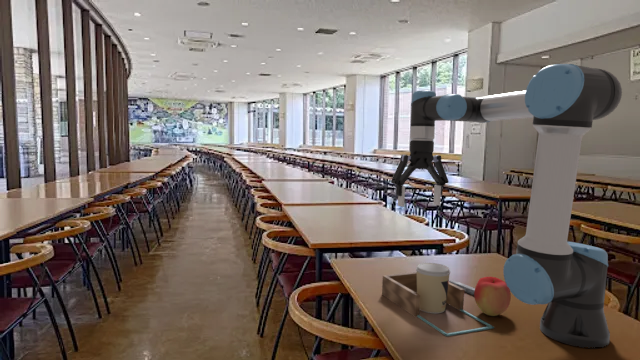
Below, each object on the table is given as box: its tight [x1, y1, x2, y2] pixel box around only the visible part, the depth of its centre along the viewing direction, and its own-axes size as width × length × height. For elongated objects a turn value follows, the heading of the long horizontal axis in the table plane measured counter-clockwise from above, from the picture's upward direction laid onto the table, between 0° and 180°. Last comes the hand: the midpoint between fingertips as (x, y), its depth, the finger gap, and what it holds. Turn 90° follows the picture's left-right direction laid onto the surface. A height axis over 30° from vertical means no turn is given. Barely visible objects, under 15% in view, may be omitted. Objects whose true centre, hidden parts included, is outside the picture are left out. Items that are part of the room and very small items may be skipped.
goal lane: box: [416, 308, 495, 337], centre depth 117 cm, size 12×15×1 cm
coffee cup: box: [415, 262, 451, 314], centre depth 126 cm, size 9×9×12 cm
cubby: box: [381, 271, 465, 318], centre depth 131 cm, size 18×16×6 cm
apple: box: [473, 276, 512, 317], centre depth 122 cm, size 10×10×10 cm
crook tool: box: [449, 279, 475, 297], centre depth 138 cm, size 18×7×2 cm, turn 30°
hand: (419, 205), depth 144 cm, fingers open, 13 cm apart
